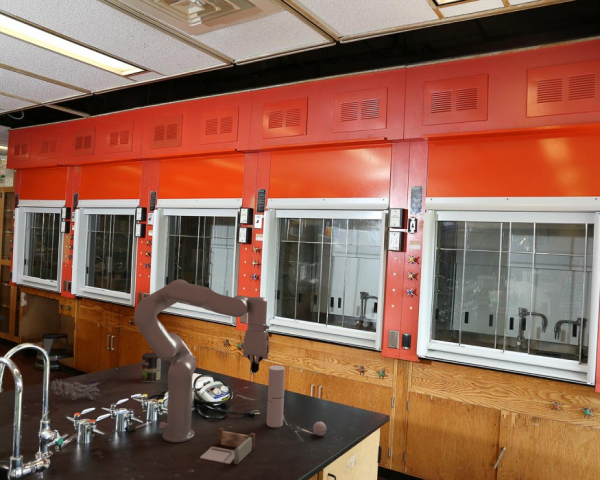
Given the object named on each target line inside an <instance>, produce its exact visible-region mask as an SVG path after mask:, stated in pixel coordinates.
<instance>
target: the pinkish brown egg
mask: <svg viewBox="0 0 600 480" xmlns="http://www.w3.org/2000/svg"><path fill="white" fill-rule="evenodd" d="M312 430H313V431H312V432H313V433H314V434H315V435H316V436H319V437H321V436H324V435H325V434H326V432H327V425H326V424H325V423H324V422H323V421H316V422H315V423H314V424H313V427H312Z"/></svg>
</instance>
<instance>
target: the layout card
mask: <svg viewBox="0 0 600 480" xmlns="http://www.w3.org/2000/svg"><path fill="white" fill-rule="evenodd" d="M234 453H235V449H228V448H223V447H217V446H210V447H209V449H208V450H206V451H205V452H204V453H203V454H202V455H200V457H199V459H201V460H208V461H210V462H211V461H213V462H218V463H221V464H227V465H231V463H233V462H234Z"/></svg>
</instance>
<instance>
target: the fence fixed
mask: <svg viewBox="0 0 600 480" xmlns="http://www.w3.org/2000/svg"><path fill="white" fill-rule="evenodd" d="M249 437H251V438H252V451H251V452H253V451H255V447H256V446H255V442H256V433H254V432H251V433H249V435H248V434H243V433H239V432H231V431H226V430H224V428H223V427H218V429H217V442H216V443H217V445H218V446H220V445H222V446H226V447H233V448H238V447H239V446H240V445H241V444H242V443H243V442H244V441H245V440H247V439H248V438H249Z"/></svg>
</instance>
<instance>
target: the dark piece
mask: <svg viewBox="0 0 600 480" xmlns="http://www.w3.org/2000/svg"><path fill="white" fill-rule="evenodd" d="M87 383H89V384H87ZM100 384H101V382H100V381H99V382H97V381H96V380H95V381H90V382H89V381H88V382H86V384H81V383H80V382H77V381H74V382H71V381H70V382H66V381H63V379H61V378H59V379H58V378H55V380H53V381H52V382H51V386H50V389H52V391H54V394H56V395H59V396H60V394H61V396H63V397H64V394H65V395H68V394H69V395H70V399H71V400H73V402H76V401H78V400H77V399H78V398H79V399H81V398H84V399H85V398H87V397H88V398H89V399H90V400H91V401H92V399H94V400H93V401H95V399H96V398H97V397H100V396H101V394H99V393H100V392H101V391H100V390H99V388H98V387H99V385H100ZM62 385H63V387H64V389H63V387H62ZM74 385H75V386H74ZM57 390H58V391H57ZM59 391H60V392H59ZM97 392H98V393H97ZM63 393H64V394H63ZM95 396H96V398H95Z"/></svg>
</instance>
